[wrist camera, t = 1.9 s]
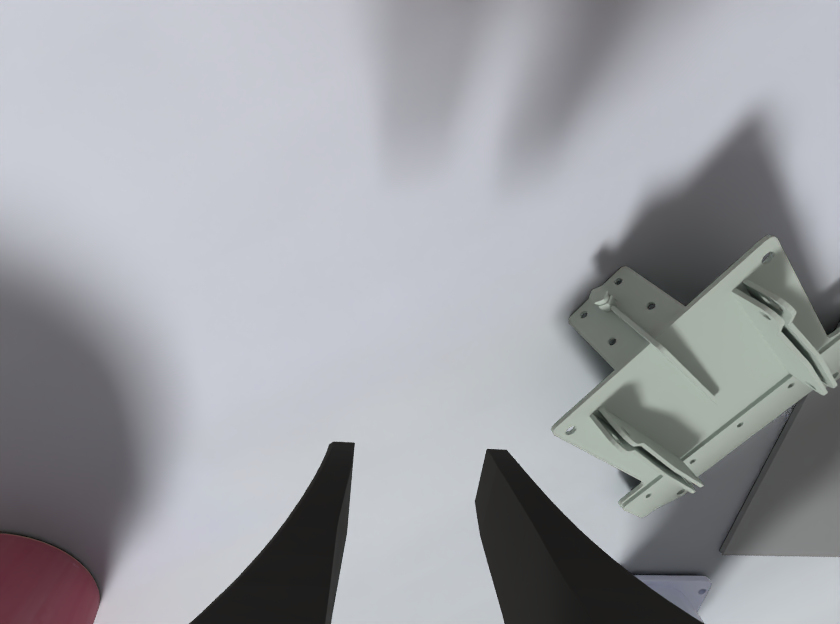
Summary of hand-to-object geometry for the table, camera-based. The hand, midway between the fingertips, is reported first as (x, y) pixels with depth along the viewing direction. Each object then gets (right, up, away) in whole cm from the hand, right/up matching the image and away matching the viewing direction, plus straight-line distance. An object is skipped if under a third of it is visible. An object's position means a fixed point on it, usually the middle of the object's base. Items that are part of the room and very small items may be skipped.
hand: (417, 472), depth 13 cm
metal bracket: (+13, +2, +10) cm, 16 cm away
